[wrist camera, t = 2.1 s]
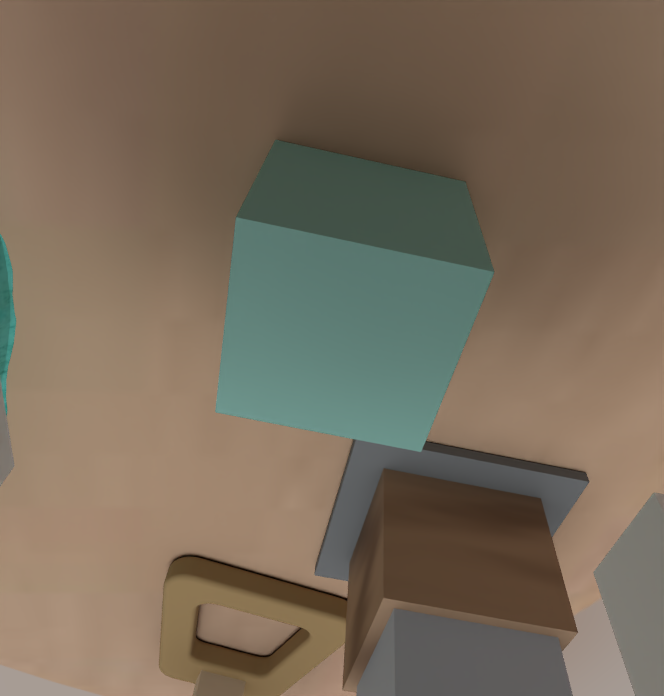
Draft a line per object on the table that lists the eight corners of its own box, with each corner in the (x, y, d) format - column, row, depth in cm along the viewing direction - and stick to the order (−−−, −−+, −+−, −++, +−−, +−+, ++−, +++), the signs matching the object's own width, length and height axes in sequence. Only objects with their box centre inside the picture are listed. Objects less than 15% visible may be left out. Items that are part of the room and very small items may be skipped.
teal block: (275, 139, 18) (235, 217, 13) (464, 180, 18) (494, 272, 13) (253, 302, 22) (215, 412, 17) (412, 335, 22) (421, 451, 17)
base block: (383, 468, 25) (383, 597, 20) (540, 498, 26) (578, 632, 21) (349, 563, 29) (342, 690, 24) (485, 587, 30) (505, 717, 25)
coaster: (357, 428, 25) (356, 436, 24) (586, 472, 25) (589, 481, 25) (315, 566, 30) (314, 575, 30) (501, 600, 31) (503, 609, 31)
